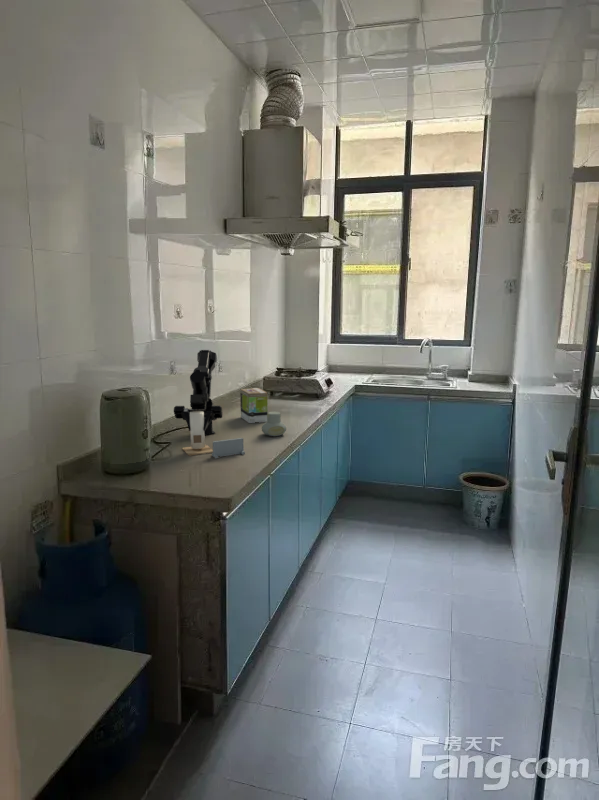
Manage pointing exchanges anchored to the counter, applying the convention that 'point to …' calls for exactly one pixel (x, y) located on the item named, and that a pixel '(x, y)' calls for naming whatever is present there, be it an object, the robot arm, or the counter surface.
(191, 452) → the mat
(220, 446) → the screen
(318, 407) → the counter surface
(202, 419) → the canister
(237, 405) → the counter surface
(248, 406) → the tea box
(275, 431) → the air freshener
